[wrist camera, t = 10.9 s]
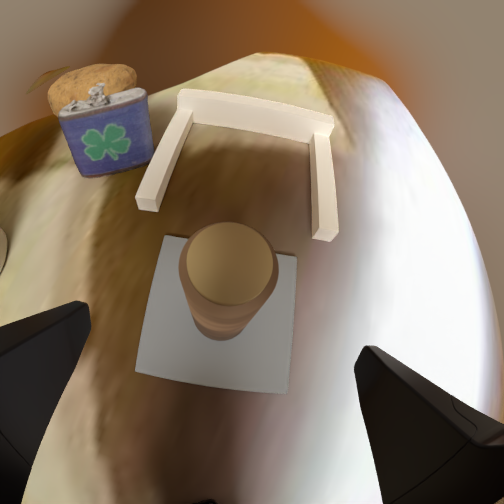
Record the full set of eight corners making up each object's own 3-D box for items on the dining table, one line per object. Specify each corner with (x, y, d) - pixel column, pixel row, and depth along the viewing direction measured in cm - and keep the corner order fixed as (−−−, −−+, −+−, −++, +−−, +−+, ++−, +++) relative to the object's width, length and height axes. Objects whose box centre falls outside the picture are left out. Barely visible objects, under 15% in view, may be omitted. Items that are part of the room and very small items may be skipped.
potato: (75, 99, 31) (65, 60, 24) (150, 97, 33) (147, 51, 25) (43, 139, 27) (26, 97, 20) (123, 139, 28) (111, 86, 21)
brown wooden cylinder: (206, 349, 20) (202, 330, 10) (184, 299, 21) (162, 234, 11) (257, 326, 21) (300, 286, 11) (233, 279, 22) (253, 203, 13)
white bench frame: (330, 241, 26) (348, 221, 23) (139, 209, 24) (130, 183, 21) (322, 138, 33) (332, 116, 30) (182, 112, 32) (182, 88, 28)
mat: (286, 393, 19) (287, 394, 19) (136, 371, 18) (134, 371, 18) (295, 258, 25) (297, 257, 24) (165, 237, 24) (164, 234, 23)
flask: (155, 149, 28) (145, 69, 19) (155, 167, 27) (144, 83, 17) (81, 164, 26) (54, 92, 16) (78, 183, 25) (45, 109, 15)
